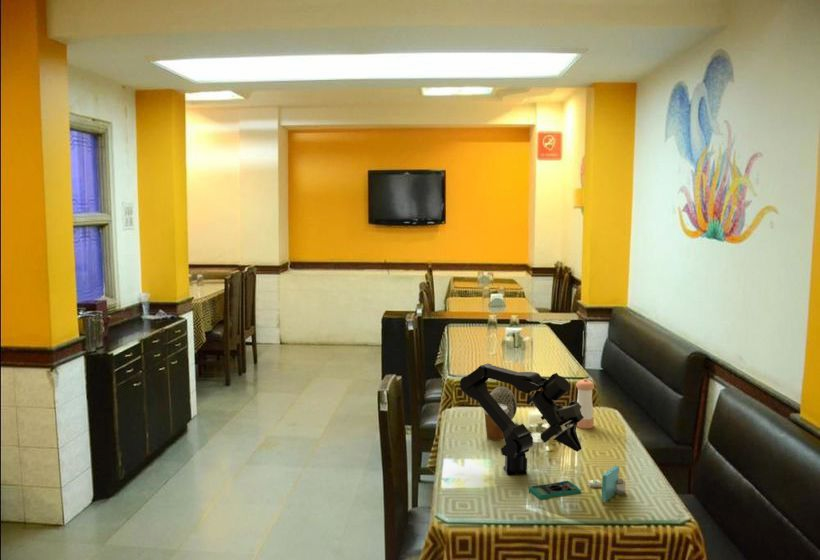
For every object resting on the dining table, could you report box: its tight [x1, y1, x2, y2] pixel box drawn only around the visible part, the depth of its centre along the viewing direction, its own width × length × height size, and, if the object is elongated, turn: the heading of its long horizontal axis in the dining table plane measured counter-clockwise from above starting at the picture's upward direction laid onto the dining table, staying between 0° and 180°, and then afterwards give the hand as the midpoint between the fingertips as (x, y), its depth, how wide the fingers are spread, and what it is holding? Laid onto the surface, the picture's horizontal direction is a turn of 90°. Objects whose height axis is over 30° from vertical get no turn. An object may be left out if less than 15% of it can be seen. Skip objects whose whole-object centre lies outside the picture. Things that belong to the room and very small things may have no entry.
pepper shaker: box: [575, 378, 595, 430], centre depth 262 cm, size 7×7×19 cm
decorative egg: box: [489, 385, 518, 421], centre depth 266 cm, size 12×12×15 cm
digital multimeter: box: [528, 480, 582, 500], centre depth 202 cm, size 7×15×3 cm, turn 109°
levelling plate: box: [587, 479, 602, 488], centre depth 201 cm, size 10×14×4 cm
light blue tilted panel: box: [601, 464, 626, 503], centre depth 199 cm, size 12×4×8 cm, turn 140°
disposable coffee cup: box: [482, 404, 509, 441], centre depth 250 cm, size 10×10×12 cm
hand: (579, 450), depth 202 cm, fingers closed
